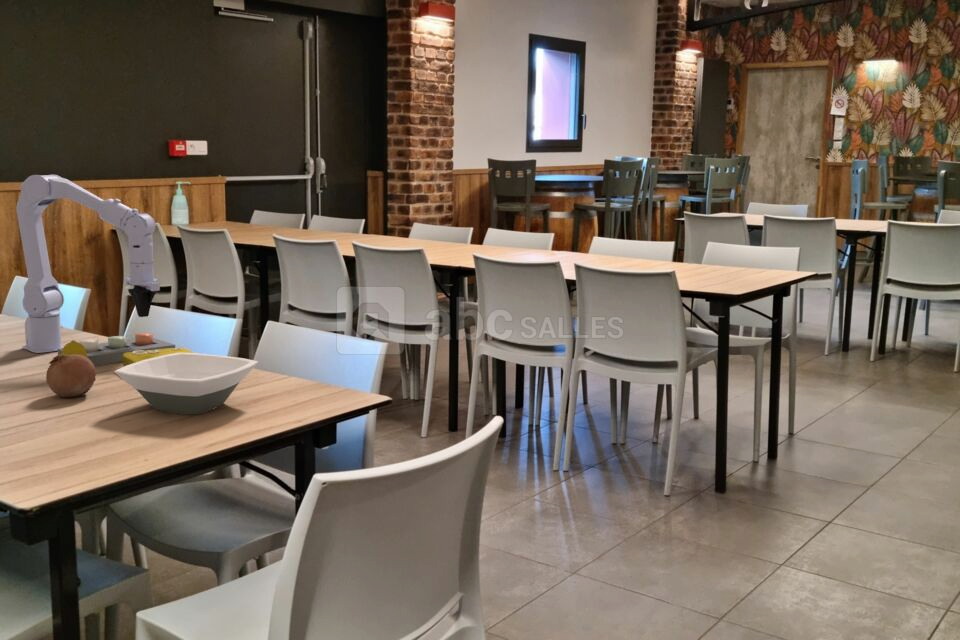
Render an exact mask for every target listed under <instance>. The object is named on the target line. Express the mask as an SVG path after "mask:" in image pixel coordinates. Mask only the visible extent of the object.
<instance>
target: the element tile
mask: <svg viewBox="0 0 960 640" xmlns="http://www.w3.org/2000/svg"><path fill="white" fill-rule="evenodd" d="M174 353H195V352H194V351H192V350H190V349H187V348H185V347H182V346H177V347H176V346H175V348H166V349H156V350H147V351H144V350H137V351H133V352H127V353H124V354H123V362H122V367H125V366H127V365H130V364H133V363H136V362H139V361H142V360H146V359H150V358H154V357H159V356H163V355H168V354H174Z"/></svg>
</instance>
